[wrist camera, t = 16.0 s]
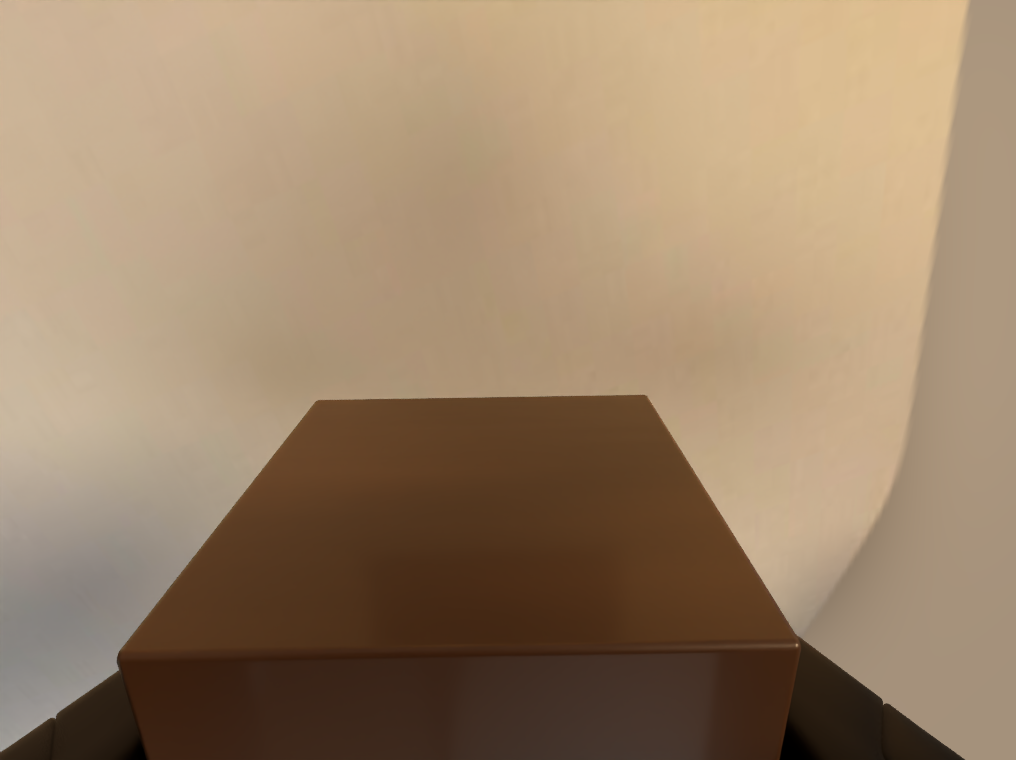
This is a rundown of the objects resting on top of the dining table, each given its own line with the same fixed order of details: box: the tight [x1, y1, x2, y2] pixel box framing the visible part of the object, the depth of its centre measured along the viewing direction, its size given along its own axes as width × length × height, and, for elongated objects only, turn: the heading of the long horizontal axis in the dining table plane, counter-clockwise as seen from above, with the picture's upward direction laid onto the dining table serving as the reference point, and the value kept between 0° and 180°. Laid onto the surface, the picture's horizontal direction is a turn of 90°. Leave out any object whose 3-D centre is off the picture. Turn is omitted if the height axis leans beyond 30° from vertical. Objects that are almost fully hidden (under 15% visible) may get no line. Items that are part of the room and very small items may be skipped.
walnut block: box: [117, 395, 801, 760], centre depth 7 cm, size 5×5×5 cm
